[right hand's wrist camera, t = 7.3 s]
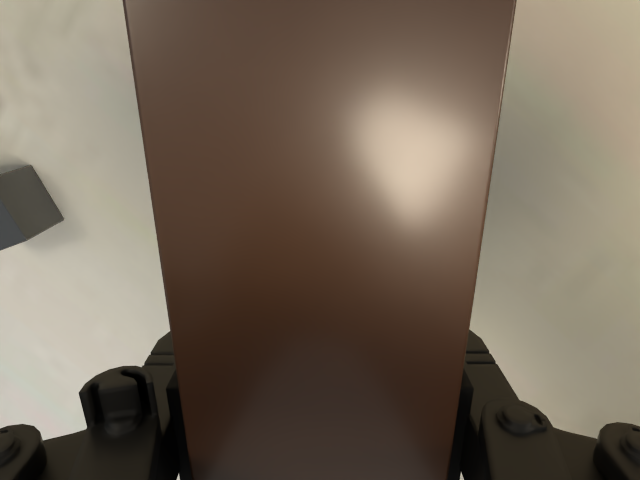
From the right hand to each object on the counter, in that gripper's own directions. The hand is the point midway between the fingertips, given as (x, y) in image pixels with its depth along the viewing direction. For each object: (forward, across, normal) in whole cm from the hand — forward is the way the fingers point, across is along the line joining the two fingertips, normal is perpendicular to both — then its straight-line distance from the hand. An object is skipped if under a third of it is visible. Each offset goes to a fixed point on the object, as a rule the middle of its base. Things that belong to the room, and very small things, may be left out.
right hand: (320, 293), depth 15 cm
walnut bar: (0, 0, -9) cm, 9 cm away
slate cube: (+15, +20, +1) cm, 25 cm away
